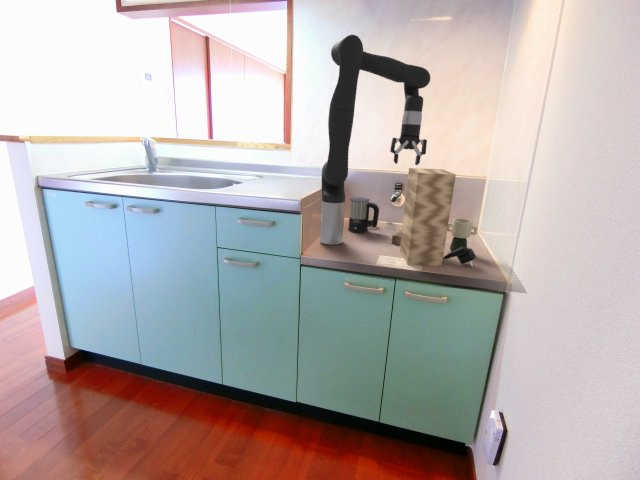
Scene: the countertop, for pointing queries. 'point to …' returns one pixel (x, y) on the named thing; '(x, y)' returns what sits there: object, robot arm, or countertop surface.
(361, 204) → the milk frother
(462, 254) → the power plug
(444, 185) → the stand
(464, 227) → the character mug
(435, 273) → the countertop surface
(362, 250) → the countertop surface
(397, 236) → the rod
